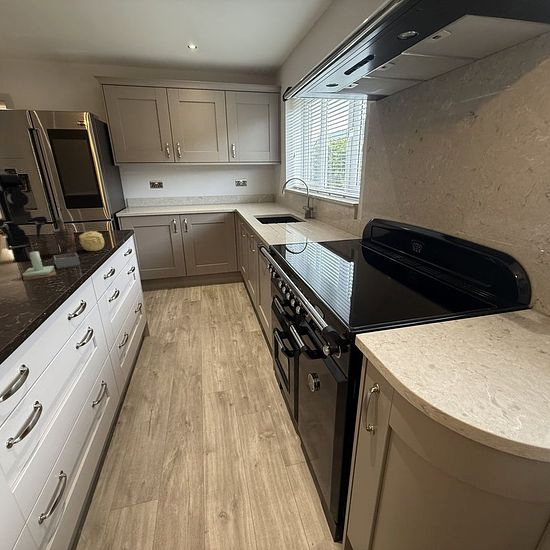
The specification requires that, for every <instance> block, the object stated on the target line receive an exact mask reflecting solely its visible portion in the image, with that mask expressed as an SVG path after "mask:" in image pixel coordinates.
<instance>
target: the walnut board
mask: <svg viewBox="0 0 550 550" xmlns="http://www.w3.org/2000/svg"><path fill="white" fill-rule="evenodd" d="M54 276H57V272H56V269H55V267H54V268H53V269H52V271H51V272H50V273H49V274H48V275H40V276H31V277H27V276H23V275H22V277H23V282H24V281H30V280H31V281H32V280H38V279H43V278H49V277H54Z"/></svg>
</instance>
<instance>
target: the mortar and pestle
mask: <svg viewBox="0 0 550 550" xmlns="http://www.w3.org/2000/svg"><path fill="white" fill-rule="evenodd" d="M56 225H57V226H58V228H57V229H54V230H53V231H52V232H53V235H54V239H55V241H56V243H57V245H58V246H60V247H61V248H62V249H61V250H60V254H59V255H62V254H69V253H76V254H77V252H78V251H77V250H76V248H73V245H74V244H75V235H74V229H73V228H71V227H66V228H65V225H64V220H63V219H62V218H61V217H58V218H56Z"/></svg>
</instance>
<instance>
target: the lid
mask: <svg viewBox="0 0 550 550" xmlns="http://www.w3.org/2000/svg"><path fill="white" fill-rule="evenodd" d="M28 255H29V257H30V261H31V265H32V267H29V268H28V269H27V270H25V271H24V272H23V273H22V277H23V276H27V277H31V276H40V275H48V274H49V273H50V272H51V271H52V269H53V268H54V269H55V266H54V265H48V266H43V263H42V260H41V256H40V251H39V250H38V251H30V252H28Z"/></svg>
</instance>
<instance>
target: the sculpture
mask: <svg viewBox="0 0 550 550" xmlns="http://www.w3.org/2000/svg"><path fill="white" fill-rule="evenodd" d="M78 238H79V243H80V246H81V247H82V248H83V249H84V250H85V251H87V252H97V251H101V250H102V249H103V248H104V246H105V239H104V237H103V234H102V233H100V232H98V231H92V230H90V231H85V232H83V233H82V234H80V235H79V236H78Z"/></svg>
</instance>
